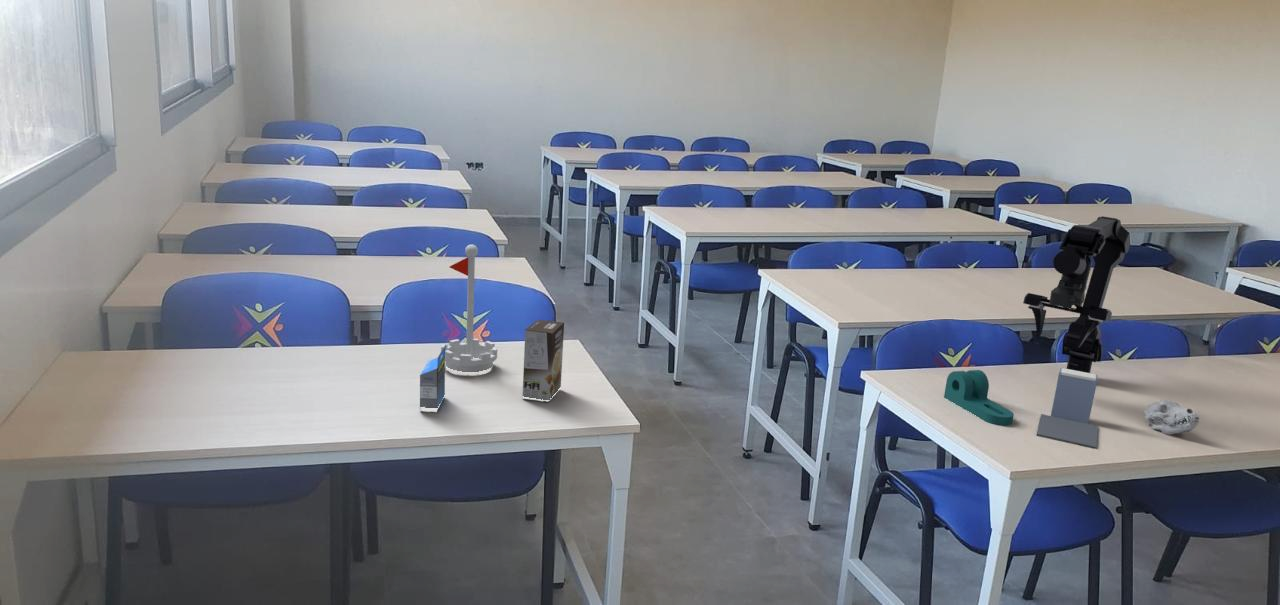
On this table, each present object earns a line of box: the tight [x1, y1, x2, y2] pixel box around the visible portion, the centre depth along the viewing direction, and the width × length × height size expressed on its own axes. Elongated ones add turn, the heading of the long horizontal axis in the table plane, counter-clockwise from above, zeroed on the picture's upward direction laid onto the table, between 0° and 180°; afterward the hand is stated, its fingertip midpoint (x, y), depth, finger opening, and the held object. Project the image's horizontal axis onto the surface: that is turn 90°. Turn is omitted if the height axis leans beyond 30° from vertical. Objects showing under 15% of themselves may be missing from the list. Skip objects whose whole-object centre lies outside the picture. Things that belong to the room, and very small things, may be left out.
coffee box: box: [522, 319, 565, 400], centre depth 206 cm, size 9×6×16 cm
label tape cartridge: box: [419, 343, 447, 408], centre depth 196 cm, size 9×4×12 cm, turn 1°
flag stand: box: [440, 244, 498, 372], centre depth 217 cm, size 13×13×30 cm
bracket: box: [943, 369, 1015, 427], centre depth 216 cm, size 18×7×8 cm, turn 20°
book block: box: [1050, 367, 1099, 424], centre depth 215 cm, size 4×8×11 cm, turn 63°
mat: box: [1036, 413, 1099, 450], centre depth 208 cm, size 14×12×1 cm
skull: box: [1143, 399, 1200, 435], centre depth 212 cm, size 8×9×12 cm
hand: (1058, 342), depth 223 cm, fingers open, 9 cm apart
